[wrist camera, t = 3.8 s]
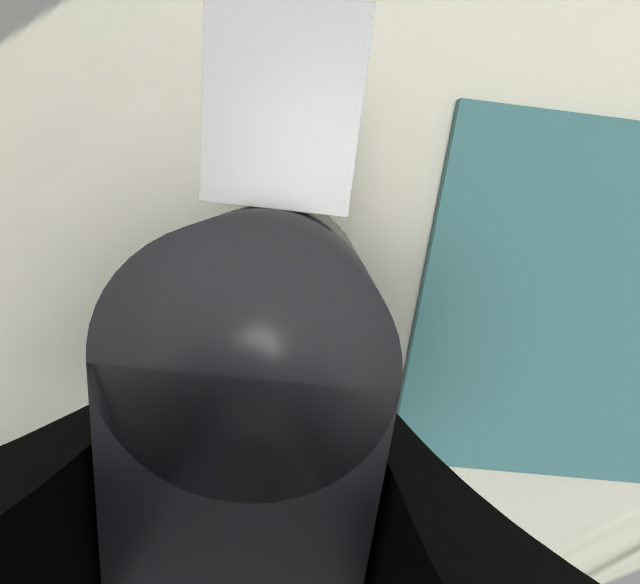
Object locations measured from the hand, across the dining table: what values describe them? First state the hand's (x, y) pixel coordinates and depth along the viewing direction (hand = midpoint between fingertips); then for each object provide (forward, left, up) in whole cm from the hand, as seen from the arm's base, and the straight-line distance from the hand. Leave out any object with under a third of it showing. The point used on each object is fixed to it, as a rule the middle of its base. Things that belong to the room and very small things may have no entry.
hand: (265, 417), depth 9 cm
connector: (+2, 0, -2) cm, 2 cm away
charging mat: (+1, -12, -8) cm, 14 cm away
